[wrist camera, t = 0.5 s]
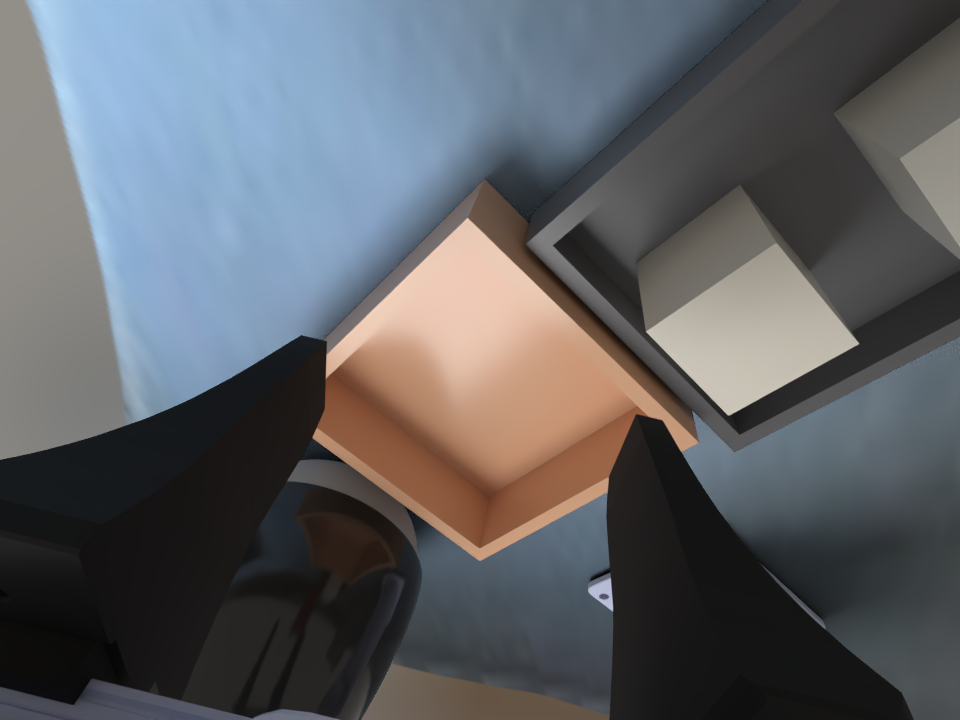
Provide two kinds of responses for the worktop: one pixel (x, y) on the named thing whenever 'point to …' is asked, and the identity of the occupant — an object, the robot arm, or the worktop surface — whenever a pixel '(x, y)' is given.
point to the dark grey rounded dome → (314, 601)
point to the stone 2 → (916, 134)
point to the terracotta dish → (485, 384)
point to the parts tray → (768, 197)
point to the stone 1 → (737, 305)
